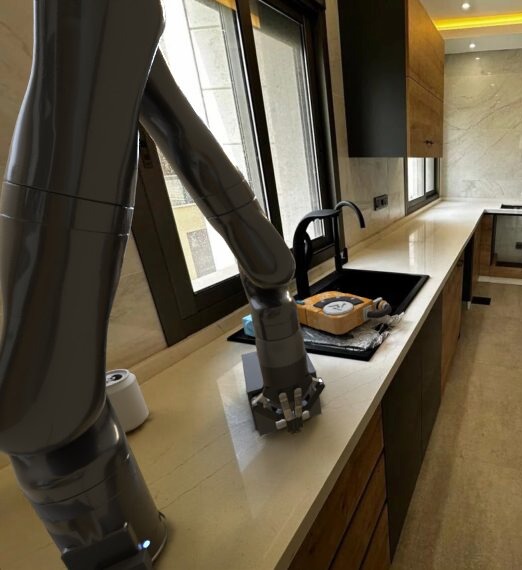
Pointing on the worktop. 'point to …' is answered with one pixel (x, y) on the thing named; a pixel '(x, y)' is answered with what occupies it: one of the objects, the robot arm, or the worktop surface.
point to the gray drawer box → (260, 376)
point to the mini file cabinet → (270, 425)
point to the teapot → (248, 325)
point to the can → (126, 398)
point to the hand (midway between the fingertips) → (296, 430)
